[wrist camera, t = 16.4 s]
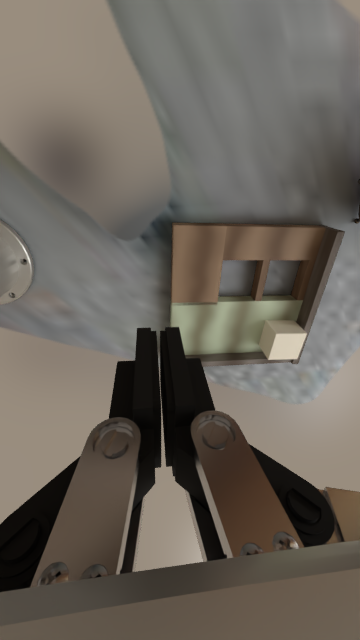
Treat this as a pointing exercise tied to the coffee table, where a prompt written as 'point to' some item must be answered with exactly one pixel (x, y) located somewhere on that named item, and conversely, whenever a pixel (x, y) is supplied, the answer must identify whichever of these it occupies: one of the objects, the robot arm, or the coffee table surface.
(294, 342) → the block
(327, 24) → the coffee table surface
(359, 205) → the alarm clock
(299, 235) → the box
